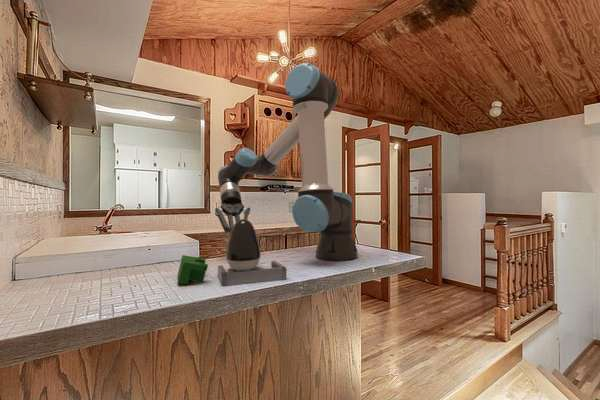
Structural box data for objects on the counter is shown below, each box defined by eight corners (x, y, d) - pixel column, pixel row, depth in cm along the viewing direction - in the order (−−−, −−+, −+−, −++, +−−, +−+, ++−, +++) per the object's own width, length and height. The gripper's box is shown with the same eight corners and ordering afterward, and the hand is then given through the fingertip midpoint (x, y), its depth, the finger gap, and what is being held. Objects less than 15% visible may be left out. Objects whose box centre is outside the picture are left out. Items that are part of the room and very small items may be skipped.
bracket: (275, 271, 88) (275, 260, 88) (286, 279, 78) (286, 267, 78) (217, 276, 82) (217, 265, 82) (222, 286, 73) (222, 273, 73)
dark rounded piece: (262, 265, 96) (261, 218, 96) (258, 273, 86) (258, 219, 86) (230, 266, 96) (229, 218, 96) (222, 273, 85) (222, 220, 85)
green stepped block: (199, 300, 76) (208, 270, 74) (174, 297, 74) (183, 266, 71) (200, 272, 87) (208, 245, 84) (178, 269, 84) (186, 241, 82)
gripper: (246, 203, 120) (255, 251, 104) (212, 204, 115) (217, 254, 99) (248, 189, 115) (259, 238, 99) (213, 189, 110) (218, 240, 95)
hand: (238, 246), depth 99 cm, fingers closed
